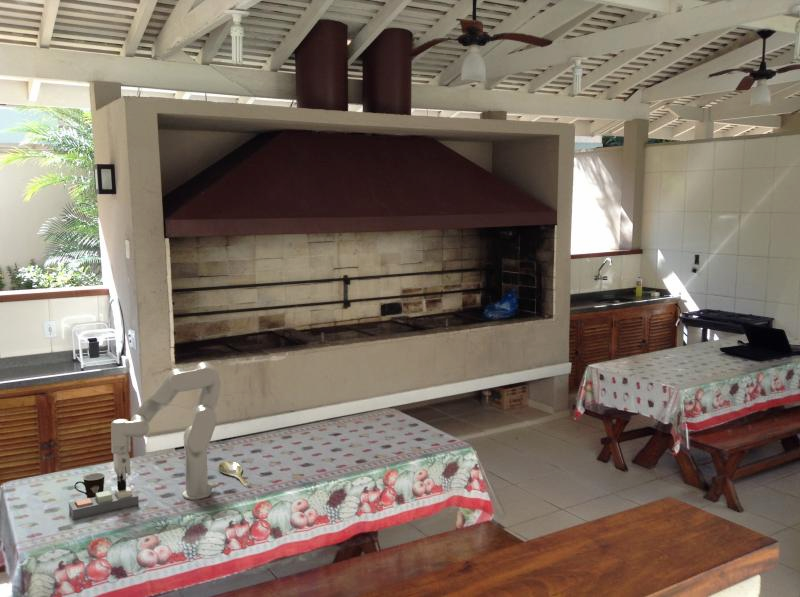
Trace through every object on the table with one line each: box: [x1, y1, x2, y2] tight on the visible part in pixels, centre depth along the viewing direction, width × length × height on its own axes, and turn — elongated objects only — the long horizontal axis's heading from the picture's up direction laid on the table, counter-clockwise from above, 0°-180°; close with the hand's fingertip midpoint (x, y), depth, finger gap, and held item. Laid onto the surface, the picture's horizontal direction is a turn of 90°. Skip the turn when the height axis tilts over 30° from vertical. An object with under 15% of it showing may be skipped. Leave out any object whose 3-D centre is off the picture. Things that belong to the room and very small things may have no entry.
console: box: [68, 488, 140, 521], centre depth 304 cm, size 26×9×4 cm, turn 124°
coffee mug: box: [74, 472, 105, 499], centre depth 315 cm, size 12×9×10 cm
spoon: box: [217, 460, 249, 486], centre depth 342 cm, size 35×11×2 cm, turn 33°
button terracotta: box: [75, 497, 92, 508], centre depth 299 cm, size 5×5×4 cm
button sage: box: [96, 490, 112, 503], centre depth 303 cm, size 5×5×4 cm
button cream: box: [114, 486, 132, 499], centre depth 308 cm, size 5×5×4 cm
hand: (121, 489), depth 307 cm, fingers closed
